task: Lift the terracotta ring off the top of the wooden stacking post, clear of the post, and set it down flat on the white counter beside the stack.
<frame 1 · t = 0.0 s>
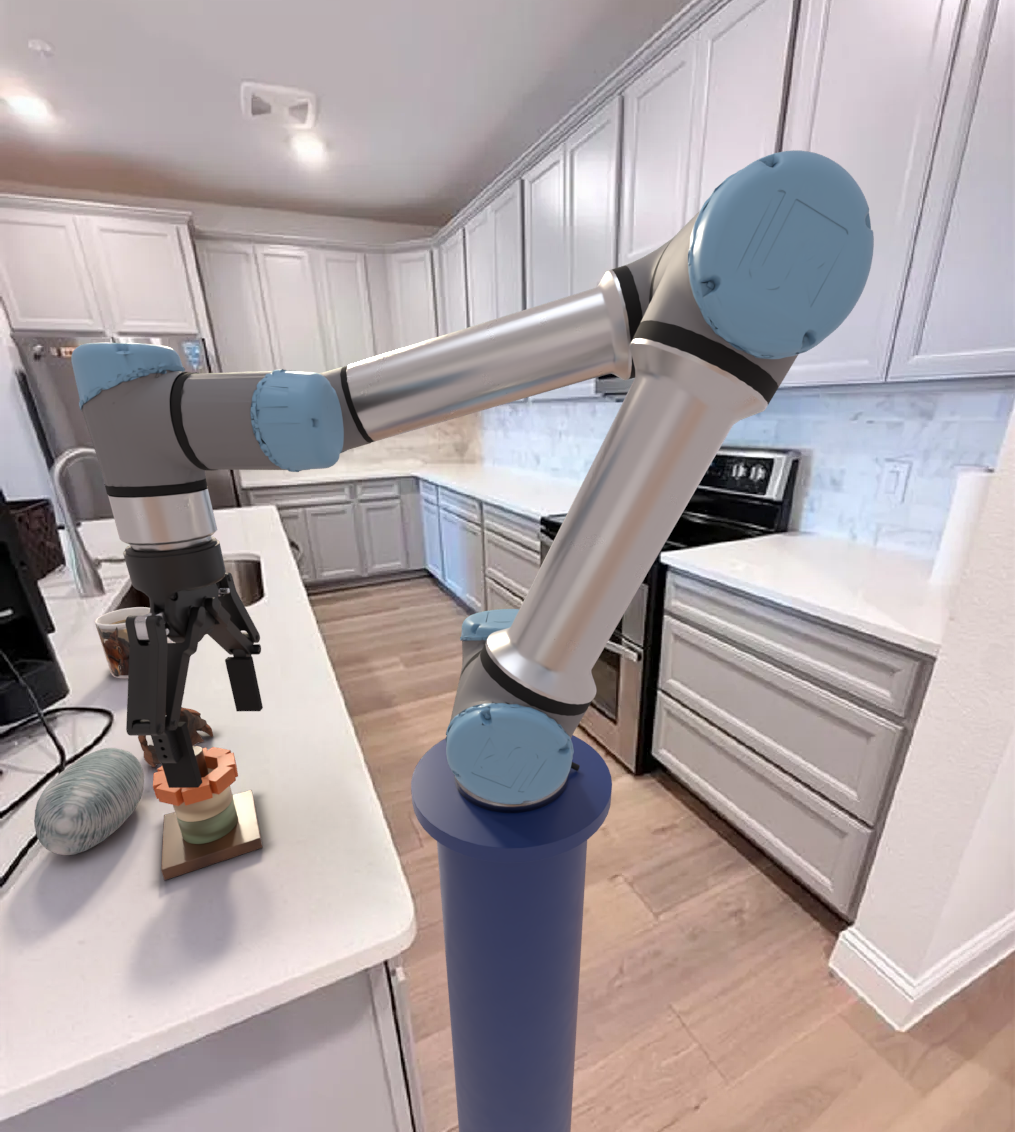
hand: (221, 743, 57), 16 cm above the table, tool pointing down, fingers open, 13 cm apart
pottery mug: (177, 750, 84), on the table
streaked grey ellipsoid: (103, 825, 69), on the table
terracotta ring: (198, 781, 64), point 8 cm above the table, touching stacking post
mug: (144, 669, 110), on the table
stacking post: (213, 835, 67), on the table
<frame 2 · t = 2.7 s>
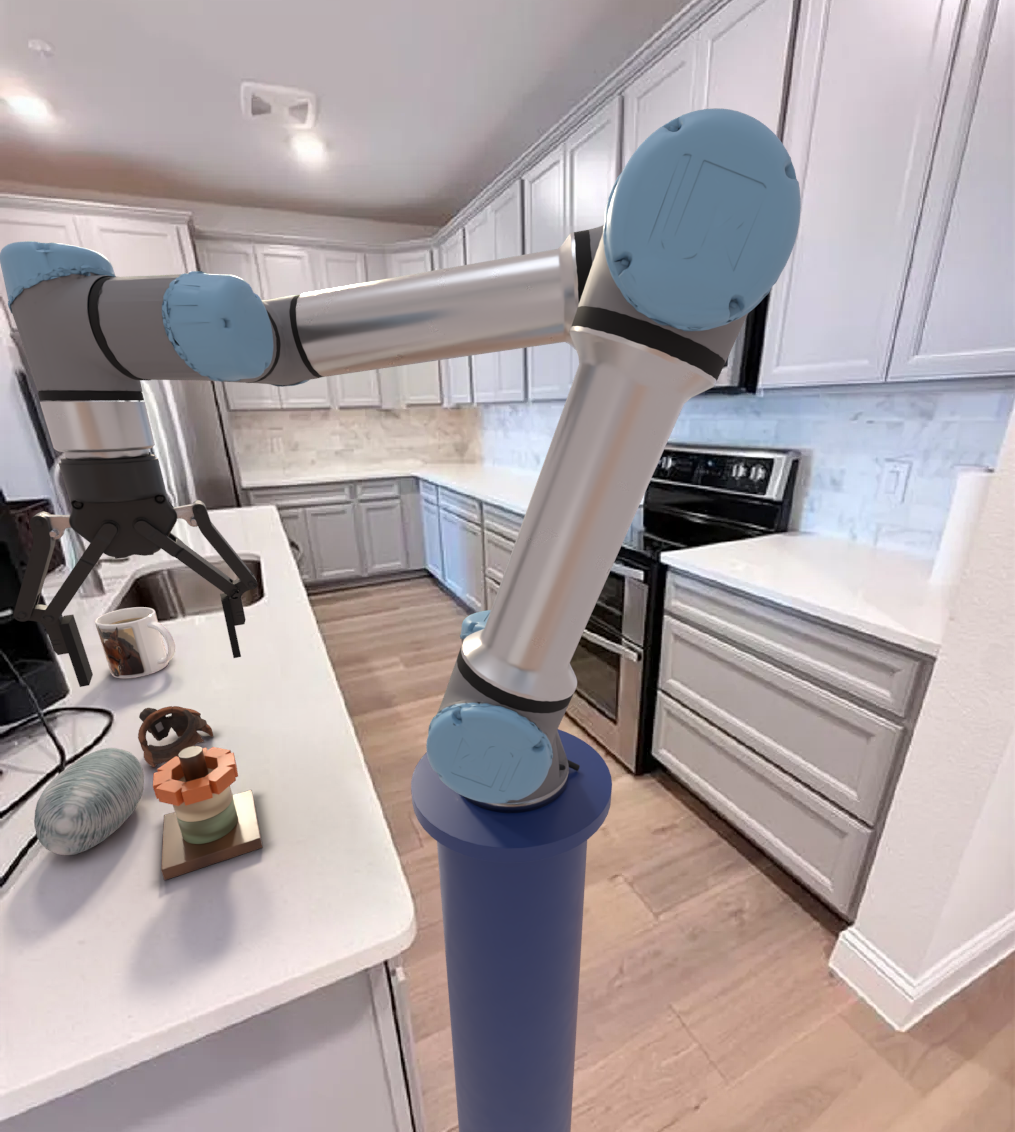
hand: (165, 666, 58), 23 cm above the table, tool pointing down, fingers open, 13 cm apart
nothing on the table moved.
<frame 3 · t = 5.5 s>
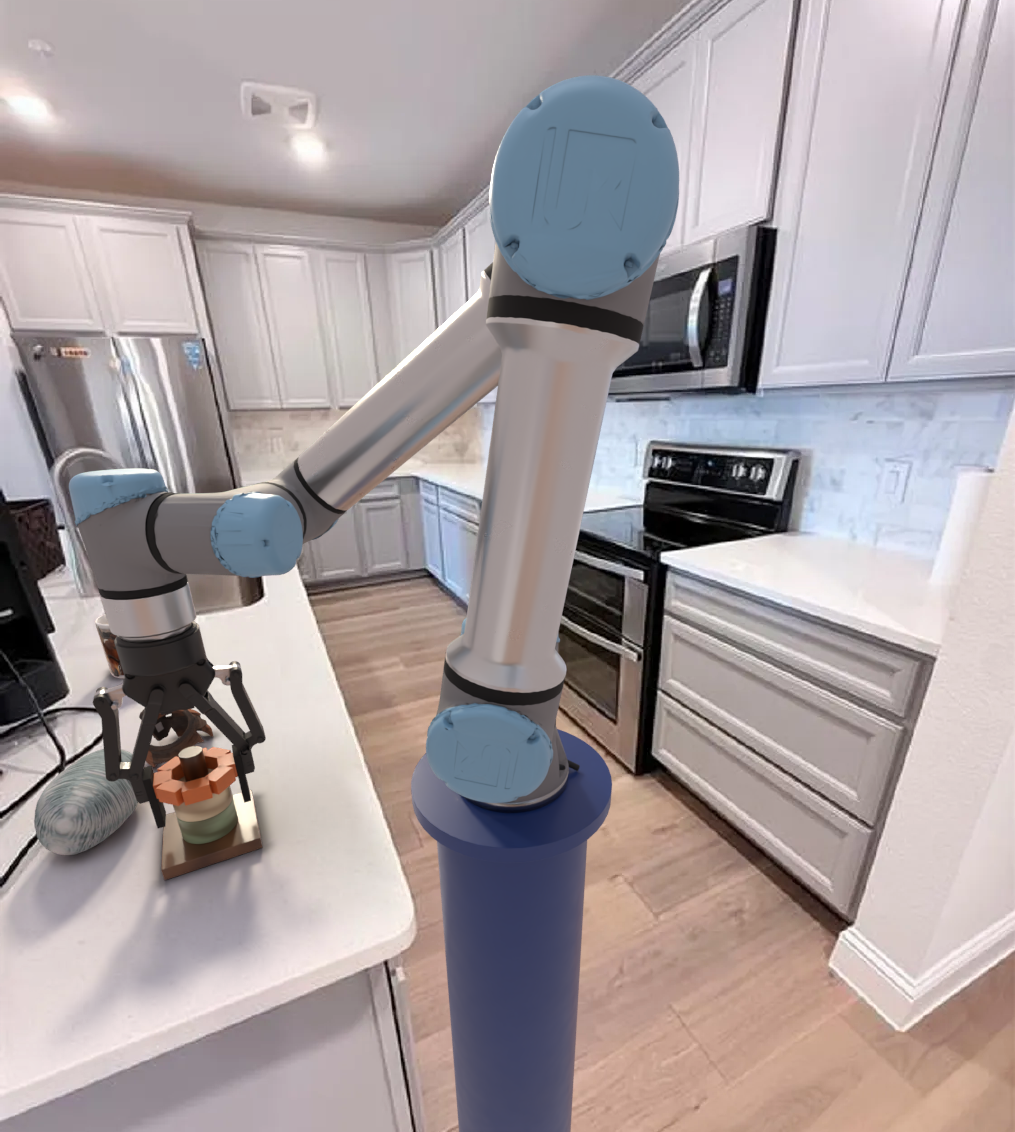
hand: (205, 807, 65), 4 cm above the table, tool pointing down, fingers closed on terracotta ring, 8 cm apart
terracotta ring: (198, 781, 64), point 8 cm above the table, touching gripper, stacking post
everything else where it was.
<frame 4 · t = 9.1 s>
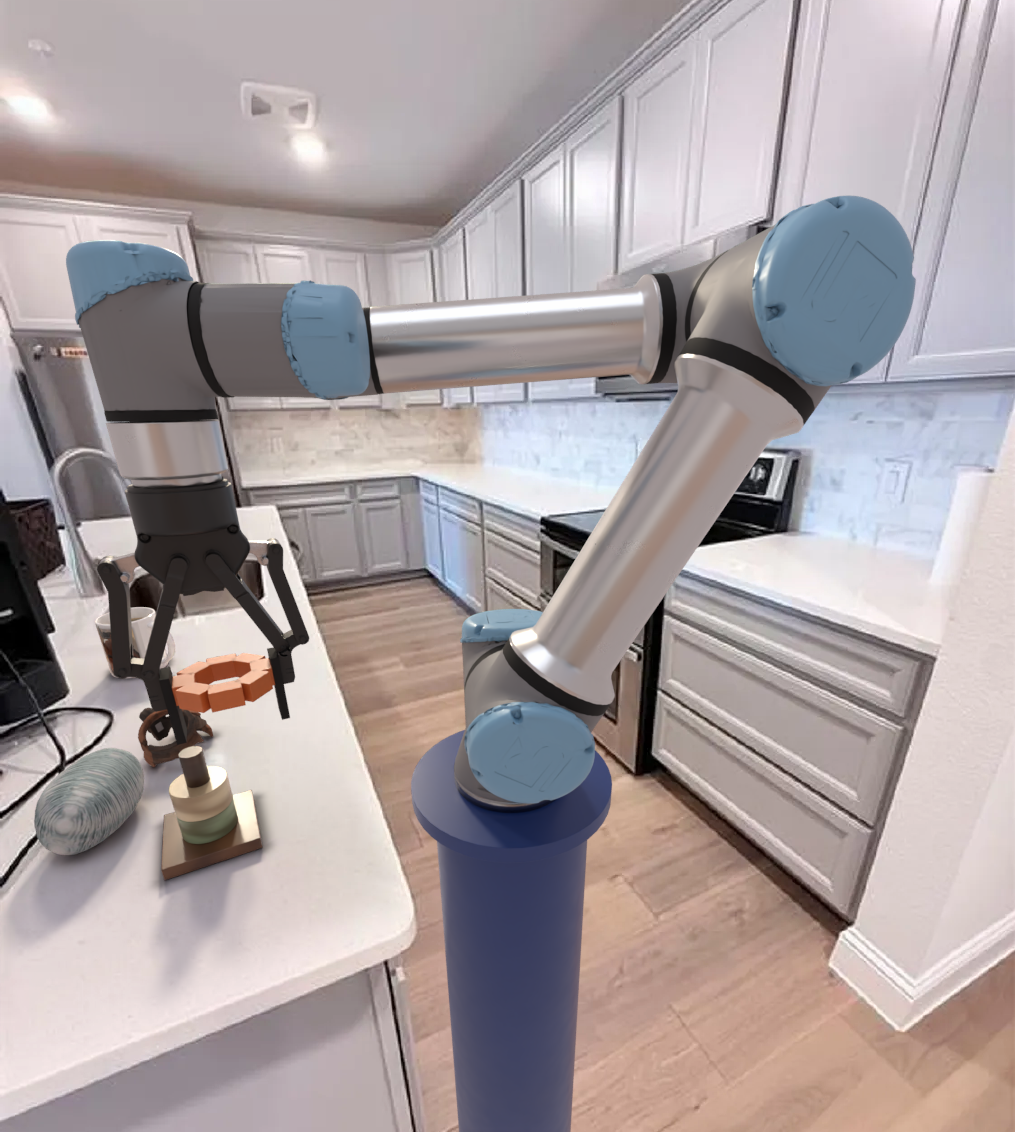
hand: (235, 723, 53), 20 cm above the table, tool pointing down, fingers closed on terracotta ring, 8 cm apart
terracotta ring: (226, 689, 52), point 23 cm above the table, touching gripper
everything else where it was.
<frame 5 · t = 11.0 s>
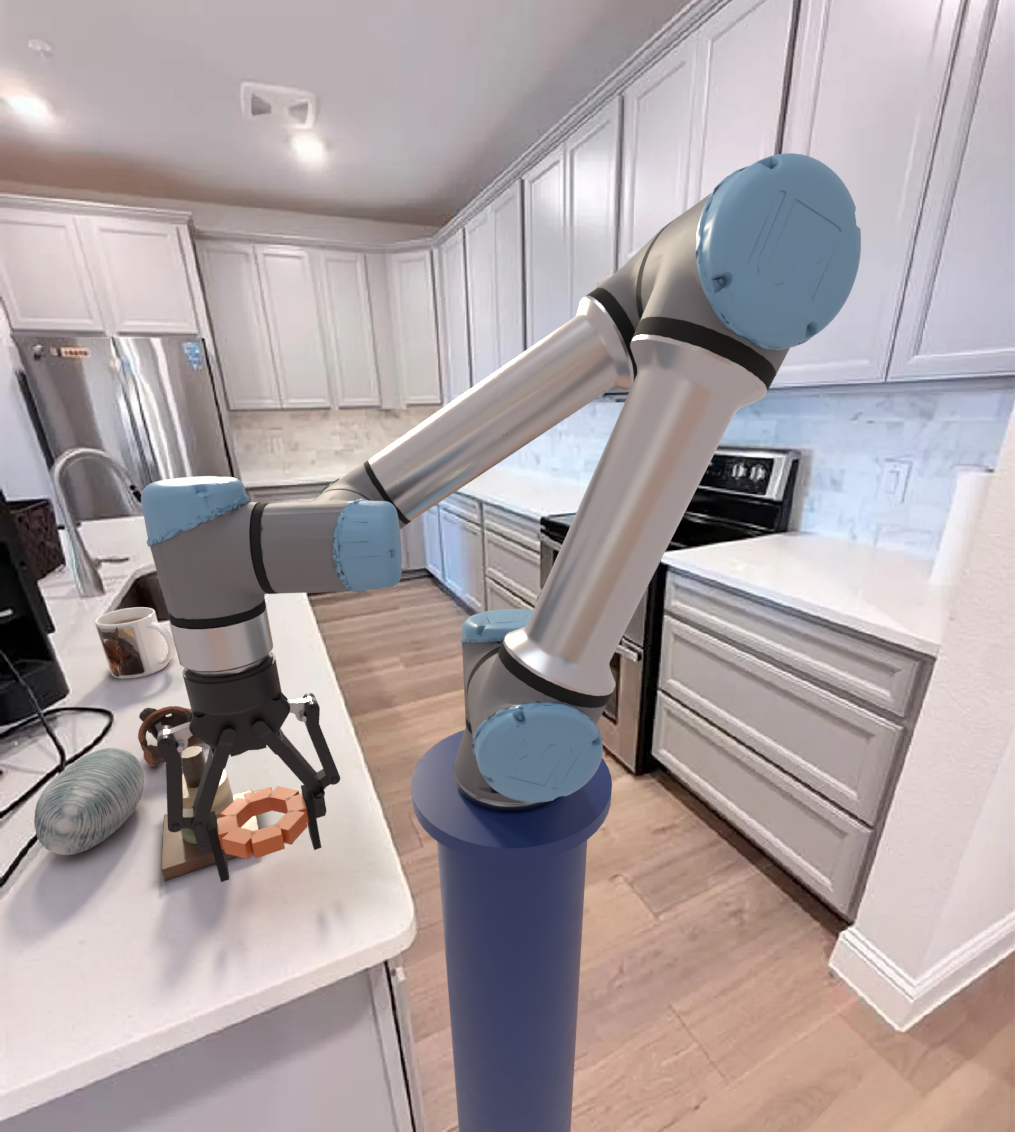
hand: (271, 855, 58), 4 cm above the table, tool pointing down, fingers closed on terracotta ring, 8 cm apart
terracotta ring: (265, 827, 56), point 8 cm above the table, touching gripper
everything else where it was.
when the fingers open (0 cm above the table, at t = 12.7 s): terracotta ring drops 2 cm, on the table.
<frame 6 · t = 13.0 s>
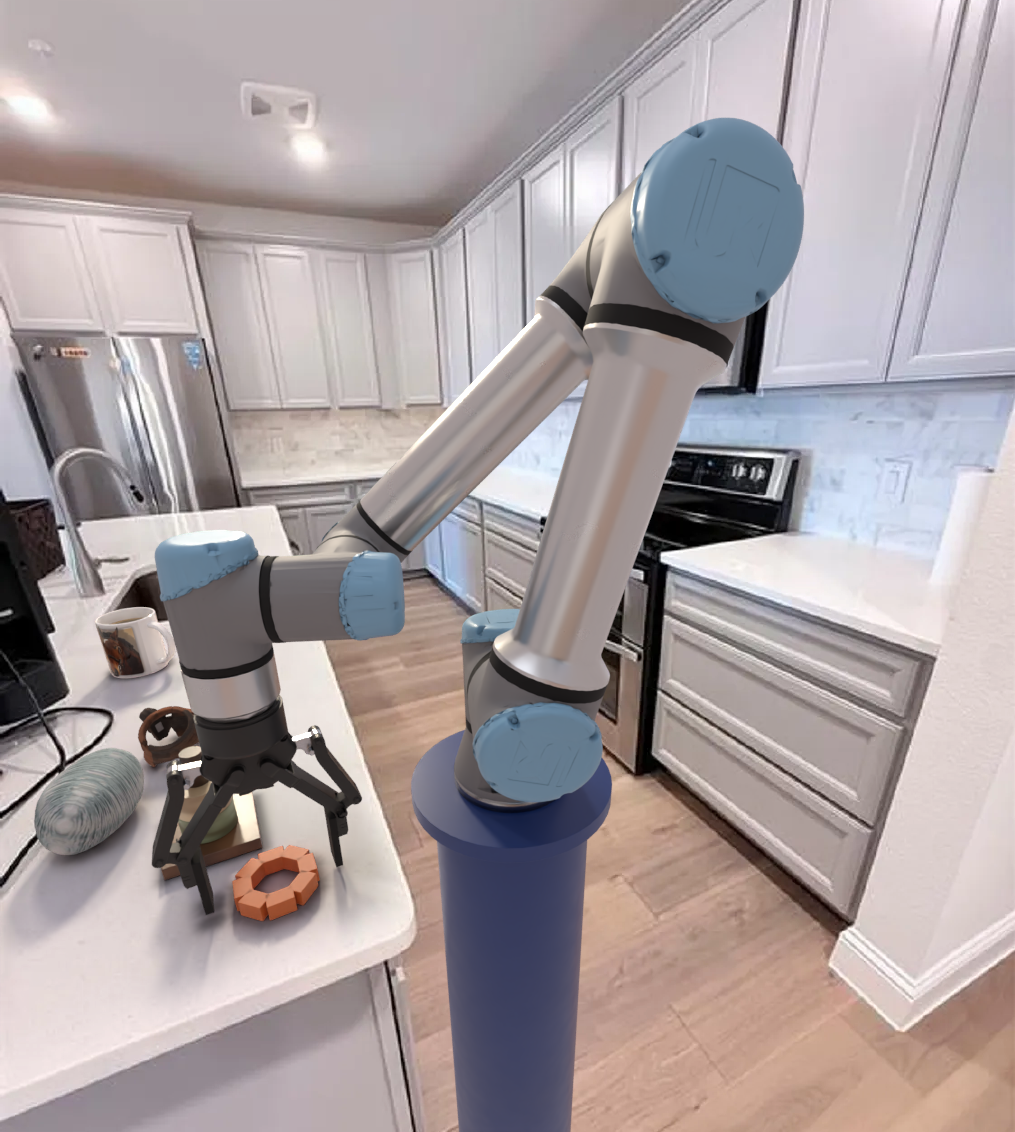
hand: (276, 880, 59), 1 cm above the table, tool pointing down, fingers open, 12 cm apart
terracotta ring: (278, 886, 59), on the table
everything else where it was.
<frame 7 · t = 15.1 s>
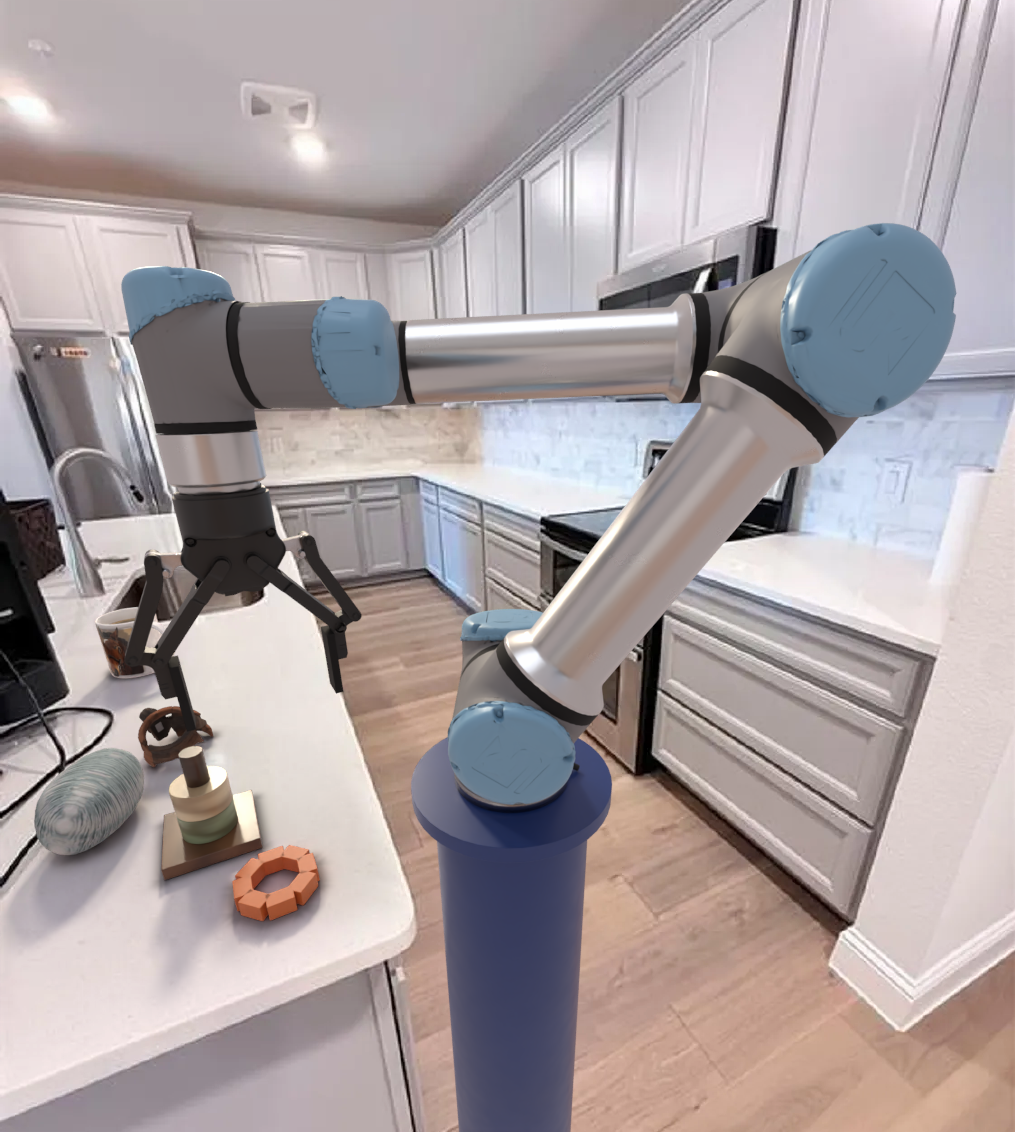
hand: (268, 705, 55), 20 cm above the table, tool pointing down, fingers open, 13 cm apart
nothing on the table moved.
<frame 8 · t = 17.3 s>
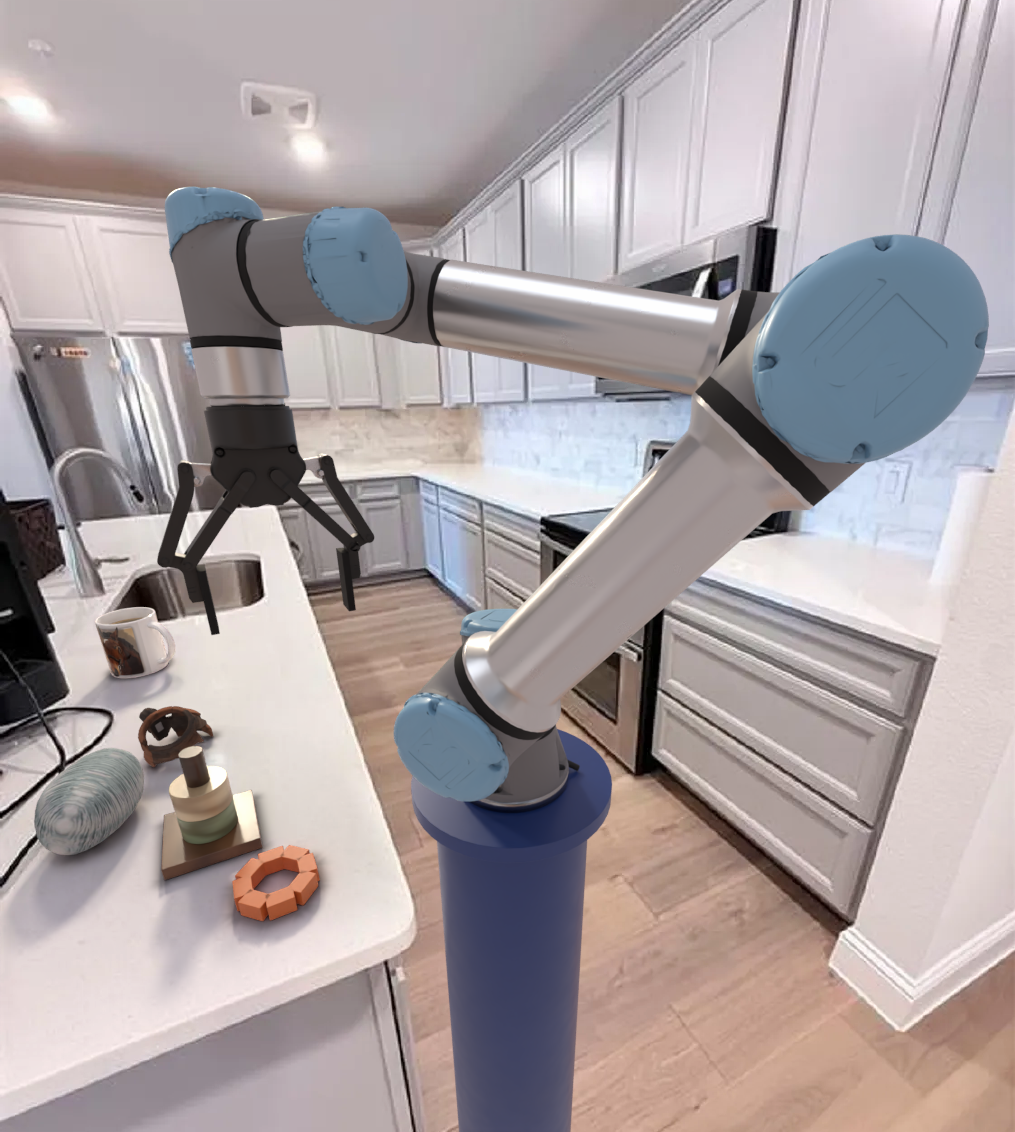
hand: (285, 618, 59), 27 cm above the table, tool pointing down, fingers open, 13 cm apart
nothing on the table moved.
at the end: terracotta ring inside the target area (0.2 cm from its centre), on the table; terracotta ring tilted 0°; terracotta ring touching table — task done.
